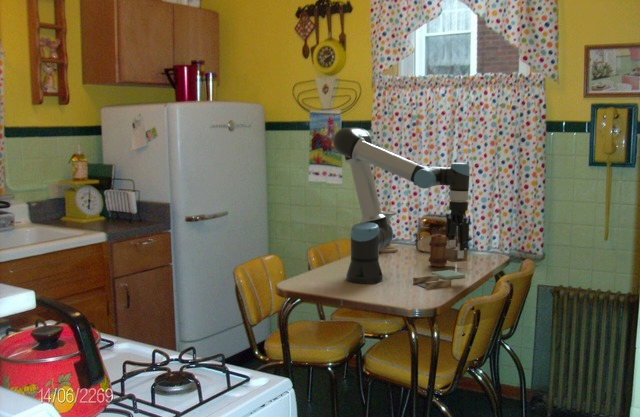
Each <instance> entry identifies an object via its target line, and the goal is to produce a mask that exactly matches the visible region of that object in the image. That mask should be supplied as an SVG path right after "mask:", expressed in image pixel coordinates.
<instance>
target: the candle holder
mask: <svg viewBox="0 0 640 417" xmlns="http://www.w3.org/2000/svg"><path fill="white" fill-rule="evenodd" d="M381 213H382V214H383V215H385V216H386V219H387V223H388V224H389V225H390V226H391V225H392V222H391V221H390V220H391V219H392V216H396V215H397V212H396V211H391V210H381ZM398 250H399V249H398V247H396V246H395V245H393V244H391V242H390V244H389V245H387V246H386V247H385V248H383V249H380V250H379V253H380V252H381V253H383V254H392V253H397V252H398Z"/></svg>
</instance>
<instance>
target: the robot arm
mask: <svg viewBox="0 0 640 417" xmlns="http://www.w3.org/2000/svg"><path fill="white" fill-rule="evenodd" d="M332 140H333V141H332V144H333V148H334V150H335V151H336V152H337V153H338V154H340V155H342V156H344V159H345V162H346V163H348V164H349V166H350V169H351V174H352V179H353V182H354V186H355V187H354V188H355V192H356V195H357V196H356V197H357V200H358V204H359V209H360V213H361V217H362V218H361V219H360V222H359V223H355V224H353V225H352V226H351V230H350V262H349V266H348V269H347V272H346V281H348V282H350V283H355V284H356V283H357V284H375V283H376V284H377V283H380V282H382V281H383V277H384V275H383V272H382V269H381V266H380V263H379V258H380V256H379V253H380V252H379V250H380V249H383V248H385V247H386V246H387V245H389V244H390V243H391V242H392V241H393V239H394V230H393V227H392V226H391V225H389V224H388V223H387V219H386V216H385V215H383V214H382V213H381V211H382V209H381V205H380V202H379V196H378V192H377V189H376V184H375V179H374V175H373V171H372V170H373V169H372V166H374V167H377V168H380V169H381V170H383V171H386V172H389V173H390V174H393V175H395V176H397V177H399V178H402V179H404V180H407V181H409V182H412V183H413V184H415V185H416V186H417V187H418V188H420V189H429V188H432V187H436V186H447V187H448V186H449V198H448V199H449V200H450V201H449V203H448V209H449V211H450V213H446V214H445V217H446V219H445V220H446V221H445V222H446V223H445V236H446V237H448V239H449V241H448V248H453V247H456V240H454V239H456V238H455V235H456V234H457V233H458V234H457V235H458V241H459V242H458V247H457V258H464V248H465V245H466V243H468V242H469V240H470V239H469V238H470V223H471V218H470V217H468V216H467V214H466V212H467V211H468V208H469V202H468V201H469V190H470V188H469V187H470V175H471V174H470V164H468V163H466V162H452V163H451V165H450V166H449V167H448V166H447V167H442V166H432V165H431V166H424V165H421V164H419V163H417V162H414V161H412V160H409V159H407V158H406V157H402V156H400V155H398V154H396V153H393V152H392V151H389V150H386V149H384V148H382V147H379V146H376V145H374V144H373V139H372V136H371V134H370V133H369V131H367V130H366V129H364V128H361V127H357V126H356V127H342V128H341V129H339V130H337V131H336V133H335V134H334V136H333V139H332ZM371 165H372V166H371ZM465 249H466V248H465Z"/></svg>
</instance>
